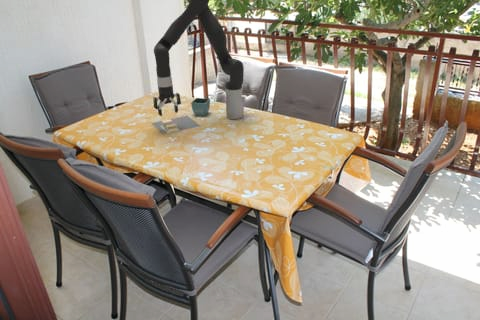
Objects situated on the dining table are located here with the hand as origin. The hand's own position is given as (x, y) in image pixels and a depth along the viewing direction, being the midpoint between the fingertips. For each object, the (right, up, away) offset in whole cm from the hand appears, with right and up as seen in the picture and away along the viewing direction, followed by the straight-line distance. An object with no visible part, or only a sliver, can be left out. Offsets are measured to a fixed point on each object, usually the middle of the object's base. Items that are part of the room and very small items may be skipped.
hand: (168, 114), depth 216 cm
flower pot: (+15, +2, +23) cm, 28 cm away
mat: (+2, -5, +9) cm, 11 cm away
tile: (0, -7, +3) cm, 8 cm away
